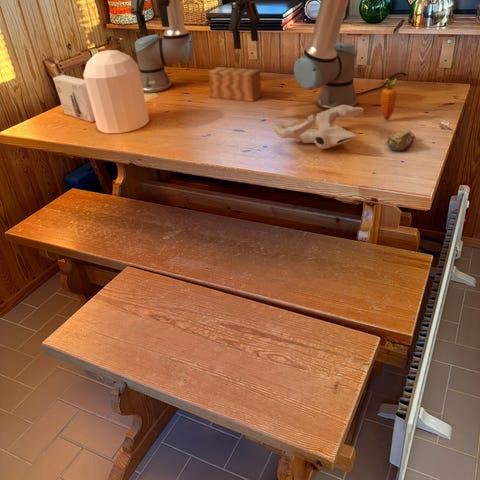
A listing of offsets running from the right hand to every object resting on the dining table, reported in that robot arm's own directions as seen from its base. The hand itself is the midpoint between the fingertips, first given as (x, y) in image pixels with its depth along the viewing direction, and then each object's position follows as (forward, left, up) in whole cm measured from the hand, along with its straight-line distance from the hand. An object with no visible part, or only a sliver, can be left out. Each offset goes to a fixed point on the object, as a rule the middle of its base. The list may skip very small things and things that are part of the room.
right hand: (246, 44), depth 187 cm
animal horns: (-8, +61, -22) cm, 65 cm away
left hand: (+37, +12, +12) cm, 40 cm away
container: (+55, +4, -22) cm, 59 cm away
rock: (-29, +72, -22) cm, 80 cm away
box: (+5, -5, -22) cm, 23 cm away
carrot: (-36, +51, -22) cm, 66 cm away
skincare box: (+71, -14, -22) cm, 76 cm away
